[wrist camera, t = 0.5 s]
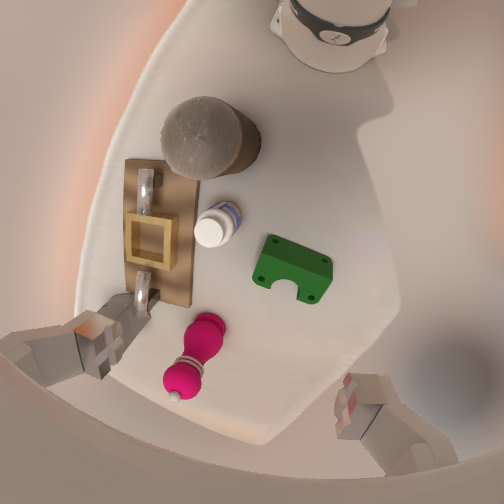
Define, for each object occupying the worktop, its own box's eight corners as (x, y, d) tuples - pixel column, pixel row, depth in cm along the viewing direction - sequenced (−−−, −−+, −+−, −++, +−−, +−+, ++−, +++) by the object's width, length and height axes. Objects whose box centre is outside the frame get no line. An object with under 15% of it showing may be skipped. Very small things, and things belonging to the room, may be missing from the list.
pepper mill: (231, 316, 50) (198, 395, 32) (224, 344, 53) (194, 421, 35) (195, 305, 51) (149, 377, 32) (191, 333, 54) (150, 404, 35)
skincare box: (141, 291, 52) (97, 335, 37) (153, 321, 54) (115, 368, 40) (112, 294, 54) (68, 333, 39) (124, 321, 56) (86, 363, 42)
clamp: (272, 254, 50) (241, 275, 43) (283, 227, 46) (252, 245, 39) (326, 292, 46) (303, 321, 39) (342, 267, 42) (321, 294, 35)
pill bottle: (211, 233, 45) (190, 253, 36) (208, 201, 43) (186, 214, 34) (243, 233, 44) (229, 254, 35) (241, 200, 43) (226, 213, 34)
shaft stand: (129, 159, 43) (97, 162, 34) (201, 164, 42) (177, 167, 33) (130, 287, 52) (105, 310, 44) (191, 304, 51) (172, 332, 42)
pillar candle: (273, 133, 38) (259, 120, 24) (238, 185, 42) (207, 199, 28) (221, 102, 38) (183, 78, 24) (189, 153, 41) (139, 154, 27)
